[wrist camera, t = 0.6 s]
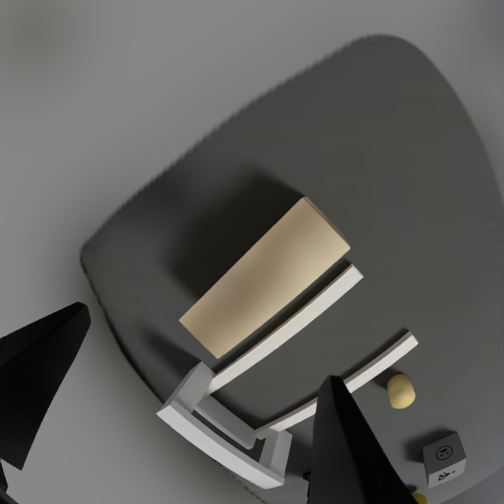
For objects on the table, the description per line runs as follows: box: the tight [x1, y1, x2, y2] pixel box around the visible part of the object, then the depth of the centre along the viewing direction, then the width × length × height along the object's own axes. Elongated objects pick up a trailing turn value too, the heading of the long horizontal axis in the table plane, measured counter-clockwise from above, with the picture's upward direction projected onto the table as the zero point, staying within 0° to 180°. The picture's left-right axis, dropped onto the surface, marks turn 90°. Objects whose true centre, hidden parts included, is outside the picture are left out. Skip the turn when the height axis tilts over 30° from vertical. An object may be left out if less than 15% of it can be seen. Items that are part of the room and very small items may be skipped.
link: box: [179, 196, 350, 359], centre depth 20 cm, size 4×12×6 cm, turn 136°
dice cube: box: [423, 432, 467, 489], centre depth 19 cm, size 5×5×5 cm
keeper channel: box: [156, 264, 418, 489], centre depth 20 cm, size 16×21×7 cm
